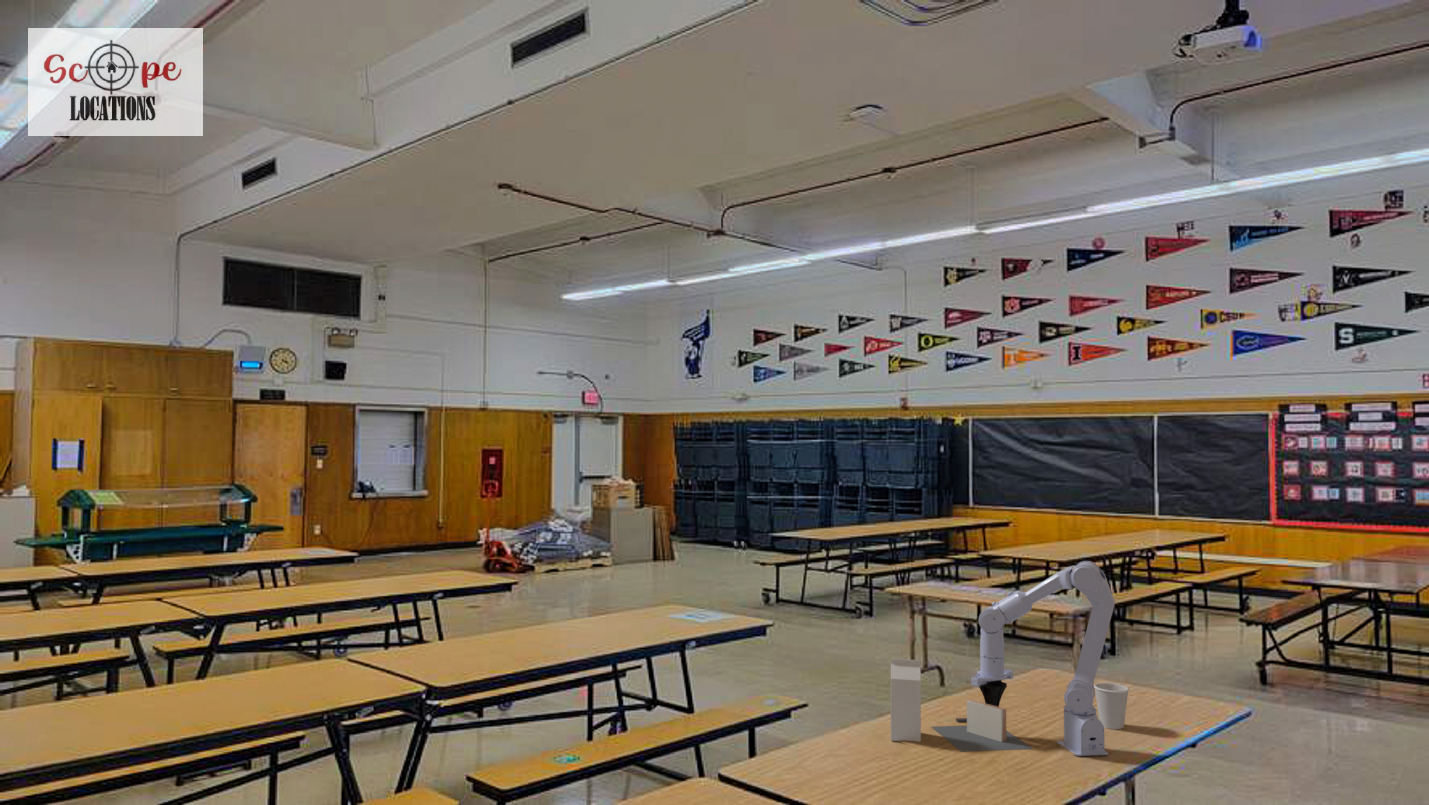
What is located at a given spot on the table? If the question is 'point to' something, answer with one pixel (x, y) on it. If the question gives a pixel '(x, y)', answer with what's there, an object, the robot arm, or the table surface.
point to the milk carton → (905, 700)
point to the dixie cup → (1111, 704)
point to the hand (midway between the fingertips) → (992, 711)
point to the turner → (961, 720)
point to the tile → (986, 720)
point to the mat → (978, 740)
